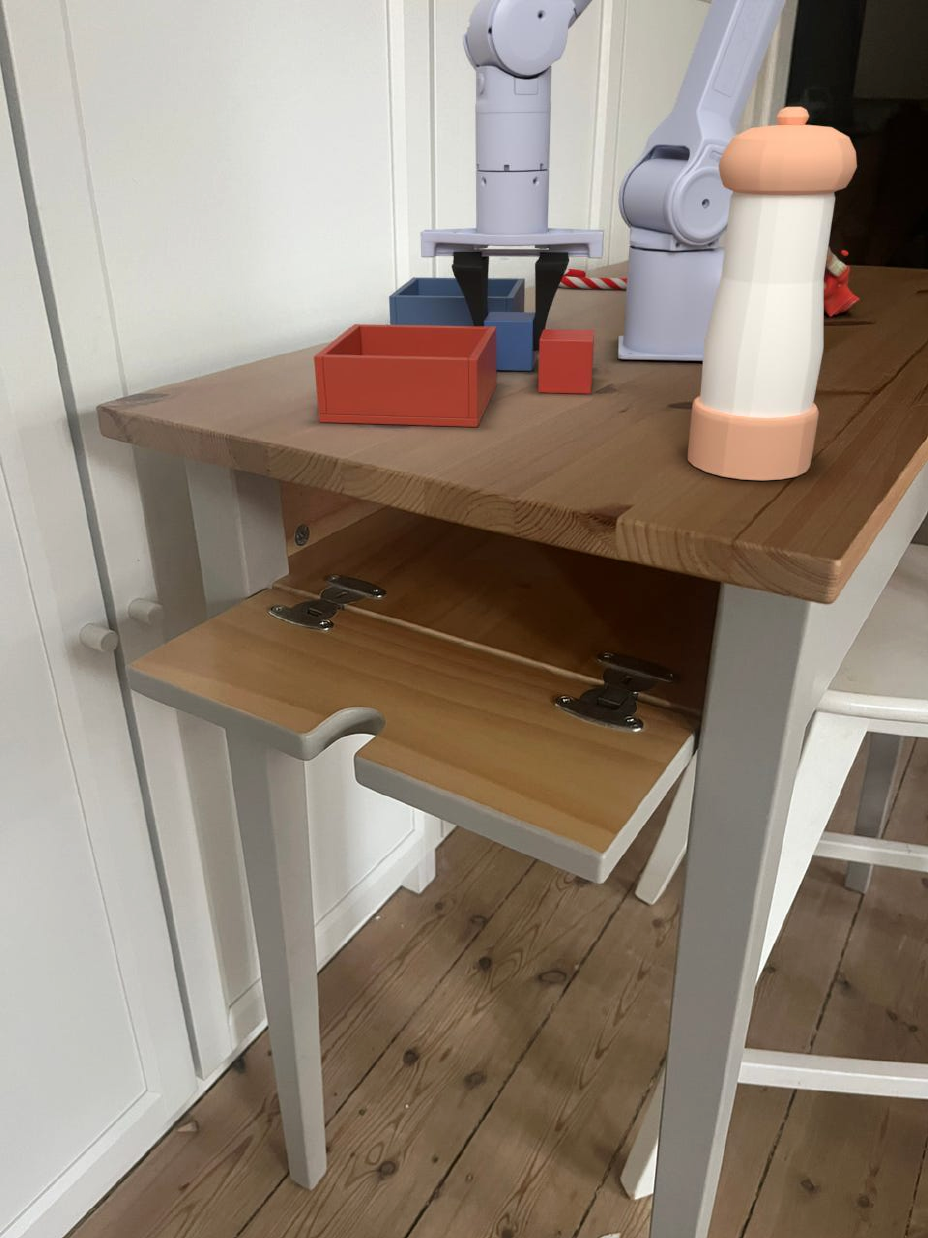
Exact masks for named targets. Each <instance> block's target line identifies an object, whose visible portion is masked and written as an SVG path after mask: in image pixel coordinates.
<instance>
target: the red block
mask: <svg viewBox="0 0 928 1238" xmlns="http://www.w3.org/2000/svg"><path fill="white" fill-rule="evenodd" d="M594 347H595V329H563V328H562V329H561V328H560V329H559V328H558V329H557V328H556V329H555V328H550V329H549V328H545V329H543V332H542V335H541V337H540V340H539V351H538V379H537V382H538V383H537V384H538V385H537V392H538V393H540V394H541V393H544V394H545V393H546V394H586V395H589V394H590V395H591V393H592V385H593V370H594V352H595V351H594V349H595V348H594Z"/></svg>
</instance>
